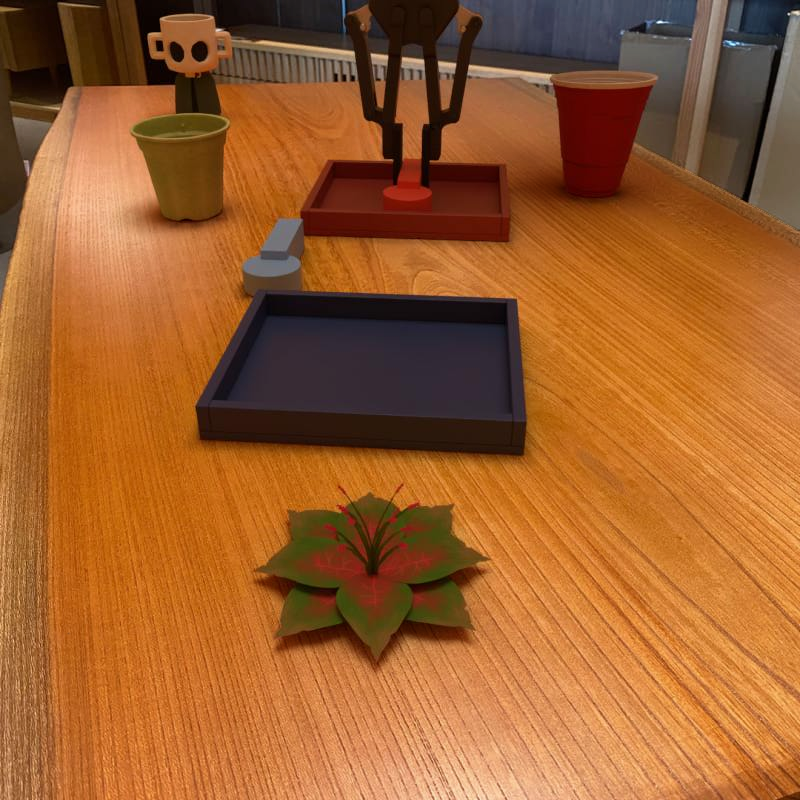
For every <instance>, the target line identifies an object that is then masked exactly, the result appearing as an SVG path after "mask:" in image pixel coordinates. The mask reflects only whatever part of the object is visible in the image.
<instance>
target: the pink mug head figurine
mask: <svg viewBox="0 0 800 800" xmlns="http://www.w3.org/2000/svg"><path fill="white" fill-rule="evenodd" d="M159 24H160V32H149V33H147V43H148V44H147V45H148V51H149V56H150V58H151V59H153V60H164V62H165V64H166V66H167V68H168V70H170V71H173V72H177V74H176V76H175V80H174V106H175V107H174V108H175V109H174V110H175V114H184V113H201V114H211V115H216V116H221V114H222V111H223V110H222V106H221V101H220V97H219V93H218V89H217V85H216V81H215V78H214V76H213V75H212V73H211V72H210V71H212V70H214V69H216V68H217V67H219V63H220V59H229V58H232V57H233V53H234V52H233V44H232V35H231V33H230V32H229V31H224V30H223V31H217V29H216V20H215V17H214V16H213V15H209V14H202V13H198V14H197V13H182V14H181V13H179V14H172V15H171V14H170V15H166V16H162V17H160V18H159ZM218 40H223V45H224V50H222V49H221V50H219V49H218V48H219V47H218ZM157 41H162V46H163V50H162V51H158V49H157V44H156V43H157Z"/></svg>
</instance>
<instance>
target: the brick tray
mask: <svg viewBox="0 0 800 800" xmlns="http://www.w3.org/2000/svg"><path fill="white" fill-rule="evenodd" d="M507 168H508V167H507V164H506V163H482V162H481V163H480V162H445V161H444V162H443V161H442V162H440V161H430V183H429V189H430V190H431V192H432V209H431V212H417V211H383V191H384V190H385V189H386V188H388V187H391V186H393V160H367V159H366V160H360V159H327V160H326V162H325V164H324V166H323V168H322V170H321V171H320V173H319V175H318V177H317V179H316V181H315V183H314V184H313V186H312V188H311V190H310V192H309V193H308V195H307V197H306V199H305V201H304V203H303V205H302V207H301V208H300V211H299V214H300V219H303V229H304V236H327V237H355V238H356V237H357V238H359V237H360V238H361V237H362V238H387V239H388V238H391V239H392V238H393V239H395V238H396V239H424V240H427V239H428V240H452V241H453V240H454V241H457V240H458V241H482V242H483V241H486V242H488V241H489V242H509V241H510V230H511V218H512V217H511V205H510V194H509V193H510V192H509V180H508V179H509V178H508V169H507Z"/></svg>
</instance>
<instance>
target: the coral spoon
mask: <svg viewBox="0 0 800 800" xmlns="http://www.w3.org/2000/svg"><path fill="white" fill-rule="evenodd" d="M421 178H422V172H421V158H406V157H404V158H403V163H402V167H401V170H400V173H399V177H398V180H397V185H395V186H391V187H388V188H386V189H385V190H384V191H383V211H417V212H431V209H432V192H431V190H430V189H428V188H426V187H423V186H421Z"/></svg>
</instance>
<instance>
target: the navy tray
mask: <svg viewBox="0 0 800 800" xmlns="http://www.w3.org/2000/svg"><path fill="white" fill-rule="evenodd" d="M523 368H524V367H523V356H522V343H521V330H520V317H519V305H518V299H517V298H516V297H515V298H514V297H513V298H512V297H507V298H506V297H485V296H482V297H481V296H459V295H457V296H456V295H431V294H405V293H404V294H403V293H402V294H401V293H378V292H377V293H375V292H350V291H349V292H348V291H324V290H323V291H321V290H299V291H297V290H270V289H269V290H267V289H258V290H257V292H256V294H255V296H254V297H253V298H252V300H251V302H250V303H249V304H248V307H247V309H246V311H245V313H244V314H243V316H242V318H241V320H240V322H239V324H238V326H237V328H236V329H235V331H234V333H233V335H232V337H231V339H230V340H229V343H228V344H227V346H226V348H225V350H224V352H223V354H222V356H221V358H220V359H219V361H218V363H217V364H216V367H215V369H214V370H213V372H212V374H211V376H210V378H209V379H208V381H207V383H206V385H205V387H204V389H203V390H202V393H201V395H200V396H199V398H198V400H197V402H196V404H195V405H194V408H195V414H196V420H197V421H196V422H197V428H198V435H199V439H200V440H212V441H213V440H215V441H216V440H217V441H234V442H235V441H236V442H254V443H256V442H257V443H274V444H275V443H277V444H293V445H294V444H297V445H316V446H317V445H319V446H335V447H355V448H356V447H357V448H375V449H376V448H378V449H397V450H419V451H436V452H438V451H439V452H457V453H458V452H459V453H475V454H476V453H478V454H499V455H500V454H501V455H521V456H523V455H524V454H525V446H526V436H527V425H528V417H527V406H526V405H527V404H526V393H525V380H524V369H523Z"/></svg>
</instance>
